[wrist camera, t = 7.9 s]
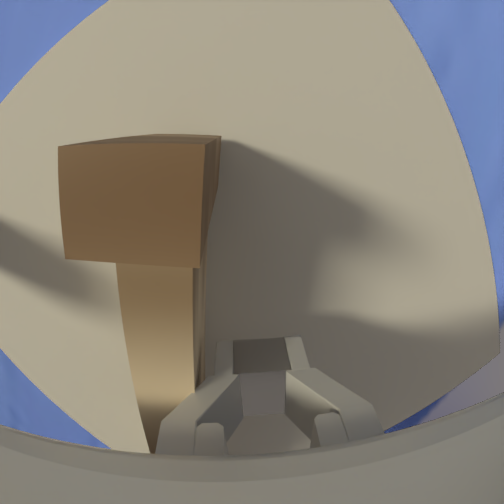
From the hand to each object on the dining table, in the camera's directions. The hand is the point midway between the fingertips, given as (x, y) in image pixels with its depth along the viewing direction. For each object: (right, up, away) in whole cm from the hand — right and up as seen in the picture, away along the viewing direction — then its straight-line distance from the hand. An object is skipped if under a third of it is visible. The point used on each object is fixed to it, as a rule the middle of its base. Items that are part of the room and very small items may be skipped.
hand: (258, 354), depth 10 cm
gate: (-3, -1, +3) cm, 4 cm away
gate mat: (-1, +1, +3) cm, 3 cm away
